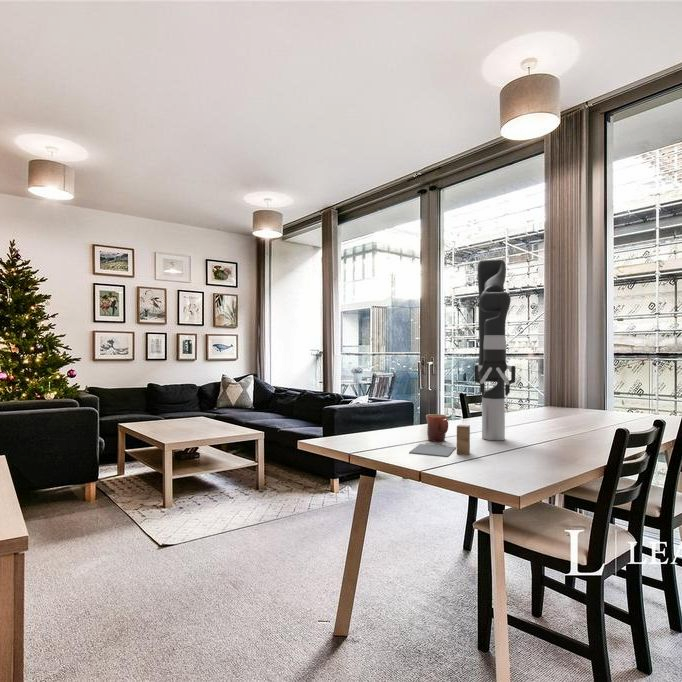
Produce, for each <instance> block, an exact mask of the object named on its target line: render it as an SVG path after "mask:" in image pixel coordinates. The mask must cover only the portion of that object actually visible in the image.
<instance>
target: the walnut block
mask: <svg viewBox="0 0 682 682" xmlns="http://www.w3.org/2000/svg"><path fill="white" fill-rule="evenodd" d="M470 453H471V425H469V424H458V425H457V426H456V455H463V456H469V455H470Z"/></svg>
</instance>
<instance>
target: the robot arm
mask: <svg viewBox="0 0 682 682" xmlns="http://www.w3.org/2000/svg"><path fill="white" fill-rule="evenodd" d="M506 265H507V264H506V262H505V261H504V260H503V259H501V258H500V259H499V258H496V259H482V260H479V261H478V263H477V271H476V272H477V287H478V288H477V289H478V338H479V339H478V341H479V342H478V343H479V349H478V364H475V365H474V369H473V371H474V382H476V383H478V384H479V391H480V393H481V438H482V439H484V440H488V441H503V440H506V421H505V420H506V405H505V403H506V401H505V400H506V398H505V397H506V396H508V395H509V394H510V393H511V385H512V384H514V383H516V366H515V365H507V340H506V320H507V316H508V312H509V308H510V305H511V301H512V300H511V296H510V293H508V292H506V291H505V287H504V284H505V281H506V275H507V267H506ZM507 369H508V371H509V373H510V374H511V375H510V376H511V377H510V380H509V378H508V377H507V376H506V371H507ZM485 382H487V383H488V382H490V383H491V382H493V383H495V382H496V385H494V386H493V387H489V388H487V389H486V384H485Z"/></svg>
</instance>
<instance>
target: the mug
mask: <svg viewBox="0 0 682 682" xmlns="http://www.w3.org/2000/svg"><path fill="white" fill-rule="evenodd" d="M425 418H426V422H427V430H426V431H427V432H426V433H427V434H426V435H427V439H428V441H430V442H435V443H436V442H437V443H440V442H444V441H445V440H446V436H447V432H448V431H449V421H448V420H447V418H448V415H446V414H439V413H436V414H435V413H431V414H430V413H429V414H426V415H425Z"/></svg>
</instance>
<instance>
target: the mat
mask: <svg viewBox="0 0 682 682" xmlns="http://www.w3.org/2000/svg"><path fill="white" fill-rule="evenodd" d="M455 450H457V446H448V445H447V446H446V445H437V444H436V445H435V444H424V443H419V444H418V445H417V446H415V447H414V448H412V449H411V450H410V451H409V453H408V454H413V455H414V454H416V455H424V456H435V457H444V458H445V457H446V458H449V457H450V456H451V454H452V453H453V452H454V451H455Z"/></svg>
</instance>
